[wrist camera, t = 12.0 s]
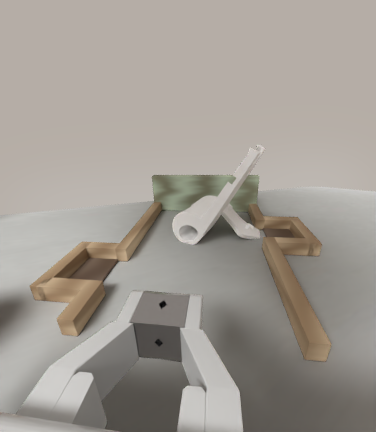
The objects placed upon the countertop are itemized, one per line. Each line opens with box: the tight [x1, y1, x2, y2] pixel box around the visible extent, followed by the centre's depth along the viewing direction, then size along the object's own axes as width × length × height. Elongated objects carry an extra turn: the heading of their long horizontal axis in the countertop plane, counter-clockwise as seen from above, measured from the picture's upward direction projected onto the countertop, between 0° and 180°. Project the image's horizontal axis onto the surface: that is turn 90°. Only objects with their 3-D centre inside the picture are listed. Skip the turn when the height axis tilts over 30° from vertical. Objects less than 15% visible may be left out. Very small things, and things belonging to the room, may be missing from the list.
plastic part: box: [172, 144, 265, 245], centre depth 26 cm, size 8×10×12 cm
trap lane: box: [30, 175, 331, 362], centre depth 24 cm, size 27×26×6 cm
